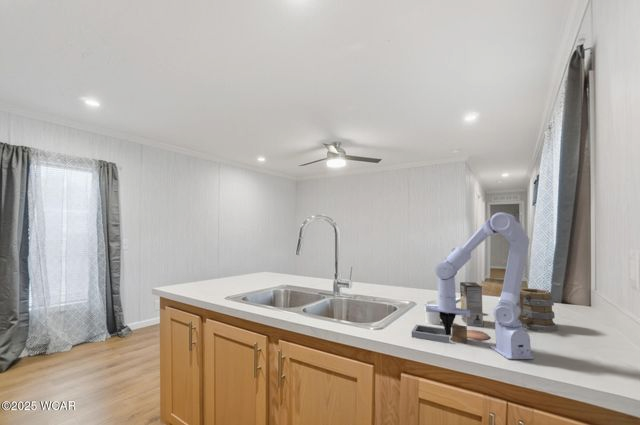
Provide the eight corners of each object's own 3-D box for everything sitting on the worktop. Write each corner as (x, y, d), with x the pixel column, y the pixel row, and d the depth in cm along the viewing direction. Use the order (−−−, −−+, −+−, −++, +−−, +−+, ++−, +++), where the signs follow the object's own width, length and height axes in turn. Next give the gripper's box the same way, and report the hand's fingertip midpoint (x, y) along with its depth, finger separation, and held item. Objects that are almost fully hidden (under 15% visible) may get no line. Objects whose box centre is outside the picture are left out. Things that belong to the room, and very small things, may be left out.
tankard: (531, 319, 126) (529, 284, 127) (564, 328, 114) (561, 289, 115) (497, 325, 119) (495, 287, 120) (528, 335, 107) (526, 293, 108)
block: (467, 339, 104) (466, 326, 104) (466, 343, 100) (466, 330, 100) (453, 337, 106) (452, 324, 106) (452, 341, 102) (451, 328, 102)
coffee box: (460, 319, 128) (459, 281, 129) (476, 319, 126) (475, 282, 127) (466, 325, 119) (465, 285, 120) (484, 326, 117) (482, 286, 118)
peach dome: (494, 339, 103) (494, 338, 103) (468, 340, 103) (468, 338, 103) (480, 331, 112) (479, 329, 112) (456, 331, 112) (456, 329, 112)
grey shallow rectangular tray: (451, 334, 108) (451, 329, 108) (449, 343, 100) (448, 337, 101) (416, 329, 114) (416, 324, 114) (411, 337, 106) (411, 331, 106)
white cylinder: (423, 323, 122) (422, 306, 122) (425, 319, 128) (425, 302, 128) (440, 325, 119) (440, 308, 119) (442, 321, 125) (442, 304, 125)
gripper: (469, 295, 106) (471, 334, 105) (427, 291, 113) (428, 328, 112) (469, 299, 99) (470, 340, 99) (424, 295, 106) (425, 333, 105)
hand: (448, 334), depth 105 cm, fingers closed
